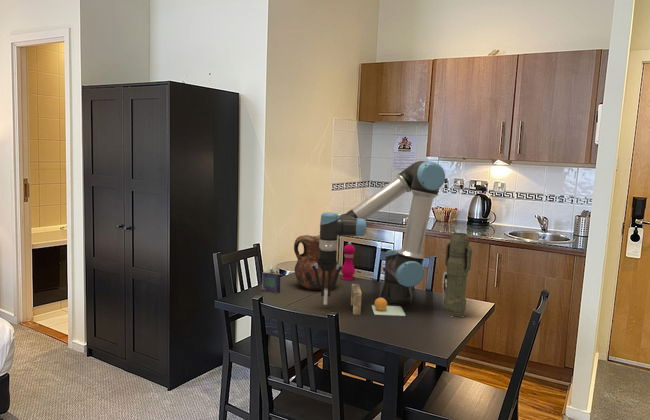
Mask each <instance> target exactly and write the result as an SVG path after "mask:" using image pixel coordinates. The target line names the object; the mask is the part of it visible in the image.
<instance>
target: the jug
mask: <svg viewBox="0 0 650 420" xmlns="http://www.w3.org/2000/svg"><path fill="white" fill-rule="evenodd" d="M319 240H320V234H319V235H309V234H305V235H304V234H303V235H300V236H297V237H296V238H295V240H294V244H293V251H294V254H295V256H296V259H297V261H296V264H295V266H294V275H295V277H296V281H298V283H299V285H300V286H301V287H303V288H305V289H308V290H313V291H315V290H316V291H318V290H319V291H321V288H318V286H317V281H316V276H315V271H314V269H313V268H312V265H313V264H316V263H317V261H318V259H319V250H320V248H319ZM300 244H302V246H303V253H301V254H300V252H299V246H300ZM336 270H337V269H336V267H335V268H334V269H333V270H332V271H331V285H332V283H333V280H334V277H335V273H336ZM317 271H318V276H319V281H320V284H321V285H322V270H321V268H320V267H319V265H318V269H317ZM325 288H328V271H325Z"/></svg>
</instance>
